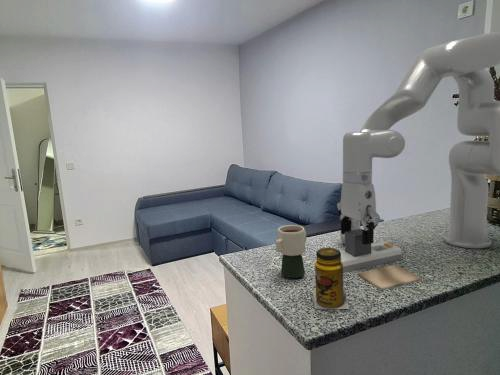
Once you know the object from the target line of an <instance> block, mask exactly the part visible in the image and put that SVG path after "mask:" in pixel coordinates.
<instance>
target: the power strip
mask: <svg viewBox="0 0 500 375" xmlns="http://www.w3.org/2000/svg"><path fill="white" fill-rule="evenodd" d="M339 251H340V253H341V262H342V264H343V273H347V272H351V271H354V270H359V269H364V268H369V267H372V266H377V265H383V264H386V263H390V262H395V261H399V260H402V248H400V247H397V246H395V245H393V244H392V243H388V242H386V241H381V242H378V243H371V254H366V255H362V256H357V257H354V256H352V255H350V254H348V253H347V252H345V249H343V250H339Z"/></svg>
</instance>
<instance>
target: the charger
mask: <svg viewBox="0 0 500 375" xmlns="http://www.w3.org/2000/svg"><path fill="white" fill-rule="evenodd" d="M362 230H364V228H360V229H357V230H351V231H346V232H345V244H344V250H345V252H347V253H348V254H350V255H352V256H354V257H357V256H362V255H366V254H371V244H372V243H371V244H365V245H364V244H362Z"/></svg>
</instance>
